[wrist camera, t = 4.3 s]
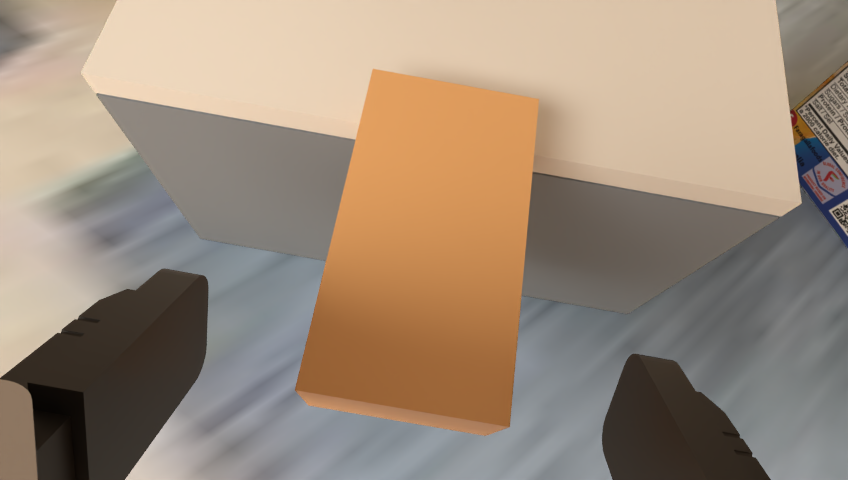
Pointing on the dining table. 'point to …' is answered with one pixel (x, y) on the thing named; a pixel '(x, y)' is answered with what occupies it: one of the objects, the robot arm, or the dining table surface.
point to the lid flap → (466, 152)
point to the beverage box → (825, 149)
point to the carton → (324, 183)
